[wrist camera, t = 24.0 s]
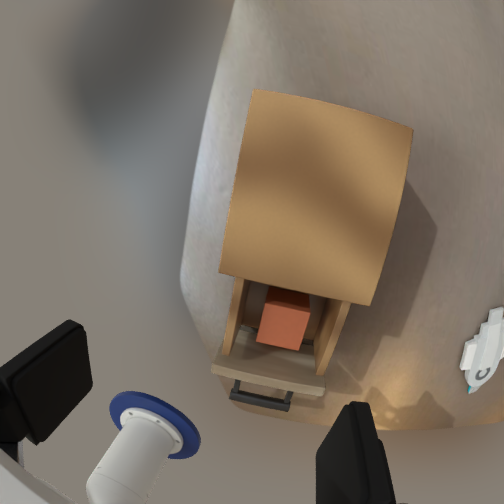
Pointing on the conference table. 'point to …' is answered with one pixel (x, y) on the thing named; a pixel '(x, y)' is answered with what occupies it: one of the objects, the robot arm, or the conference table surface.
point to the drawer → (273, 357)
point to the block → (284, 318)
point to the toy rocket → (484, 351)
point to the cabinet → (314, 197)
